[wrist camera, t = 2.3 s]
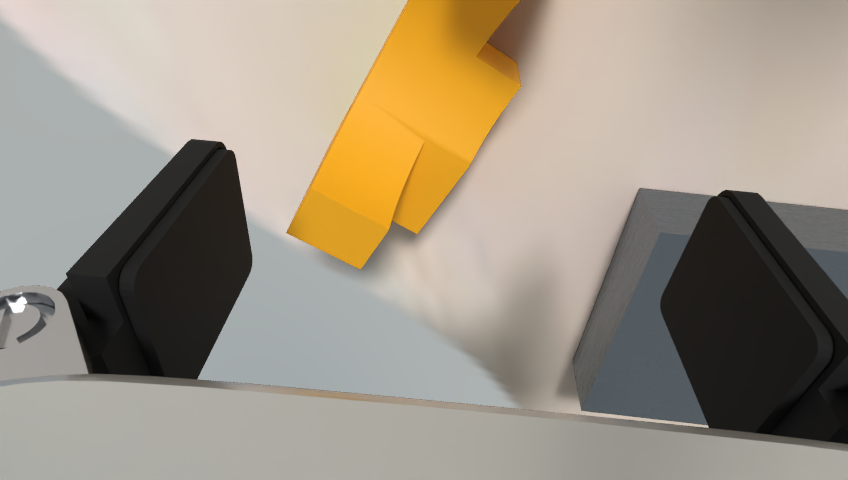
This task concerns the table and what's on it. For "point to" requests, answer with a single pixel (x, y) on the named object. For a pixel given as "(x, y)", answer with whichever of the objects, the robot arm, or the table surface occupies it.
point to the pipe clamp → (410, 127)
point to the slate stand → (640, 305)
